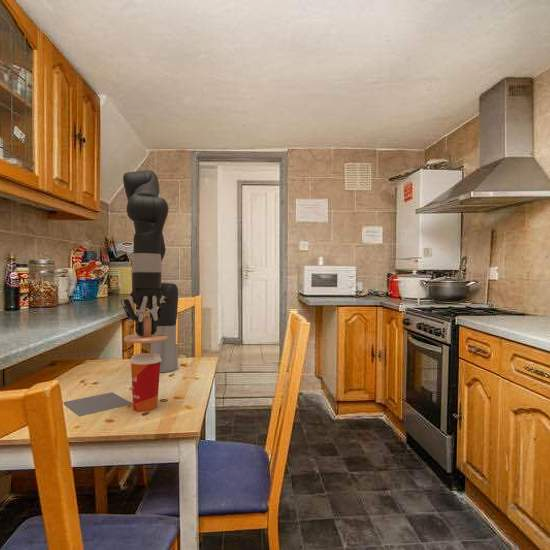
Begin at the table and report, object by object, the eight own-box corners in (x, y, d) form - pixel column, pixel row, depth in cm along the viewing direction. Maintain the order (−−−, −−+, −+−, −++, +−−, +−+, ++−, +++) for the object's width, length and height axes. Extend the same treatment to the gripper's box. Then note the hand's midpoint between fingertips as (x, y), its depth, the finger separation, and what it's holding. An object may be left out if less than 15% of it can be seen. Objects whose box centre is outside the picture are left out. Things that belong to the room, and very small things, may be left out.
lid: (154, 334, 113) (154, 314, 113) (174, 340, 105) (175, 318, 105) (116, 339, 105) (117, 317, 105) (135, 344, 97) (136, 321, 97)
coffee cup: (133, 406, 109) (134, 352, 109) (163, 405, 110) (164, 352, 110) (124, 417, 101) (125, 358, 101) (157, 416, 101) (158, 358, 101)
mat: (112, 395, 118) (112, 392, 118) (133, 407, 108) (133, 403, 108) (61, 406, 108) (61, 402, 108) (79, 420, 98) (79, 416, 98)
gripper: (163, 271, 113) (162, 331, 113) (115, 270, 103) (114, 335, 103) (177, 271, 107) (176, 334, 107) (127, 270, 97) (126, 339, 97)
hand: (145, 334), depth 105 cm, fingers closed on lid, 2 cm apart
